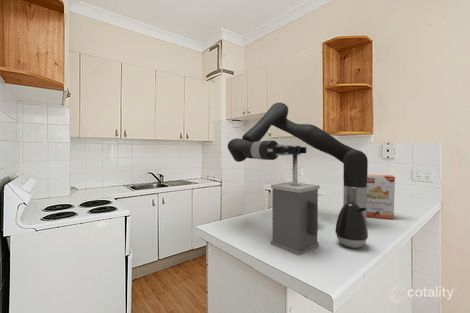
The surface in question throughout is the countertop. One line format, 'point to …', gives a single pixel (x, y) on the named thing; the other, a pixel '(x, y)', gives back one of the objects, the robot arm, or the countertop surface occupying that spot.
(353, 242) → the black egg-shaped dispenser
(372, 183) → the cracker box
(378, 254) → the countertop surface
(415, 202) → the countertop surface
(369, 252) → the countertop surface
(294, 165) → the plunger
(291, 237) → the press
